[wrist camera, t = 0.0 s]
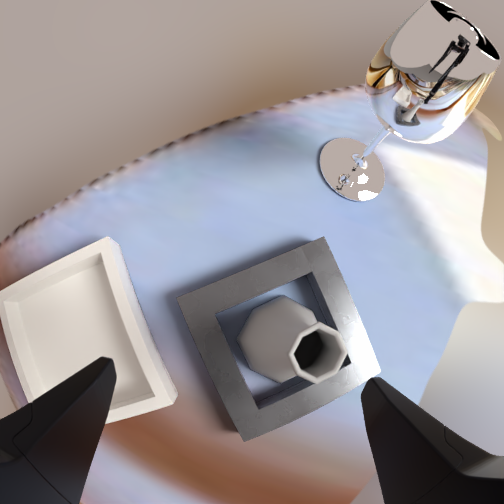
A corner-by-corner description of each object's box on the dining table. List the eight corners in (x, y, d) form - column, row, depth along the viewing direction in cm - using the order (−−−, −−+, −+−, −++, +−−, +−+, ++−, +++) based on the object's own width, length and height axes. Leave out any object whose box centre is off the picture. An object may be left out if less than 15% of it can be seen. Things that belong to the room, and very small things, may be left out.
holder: (370, 368, 24) (381, 371, 22) (242, 433, 22) (244, 441, 20) (316, 242, 26) (323, 236, 24) (180, 299, 24) (176, 297, 22)
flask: (220, 338, 23) (218, 353, 14) (283, 280, 25) (320, 257, 15) (279, 396, 23) (312, 441, 13) (337, 338, 24) (399, 347, 15)
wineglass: (395, 194, 28) (528, 84, 9) (337, 211, 27) (480, 66, 7) (364, 134, 29) (458, 4, 10) (305, 144, 28) (385, -24, 9)
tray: (178, 394, 22) (172, 404, 19) (58, 427, 20) (44, 436, 17) (119, 245, 24) (108, 236, 21) (12, 296, 22) (-5, 293, 19)
